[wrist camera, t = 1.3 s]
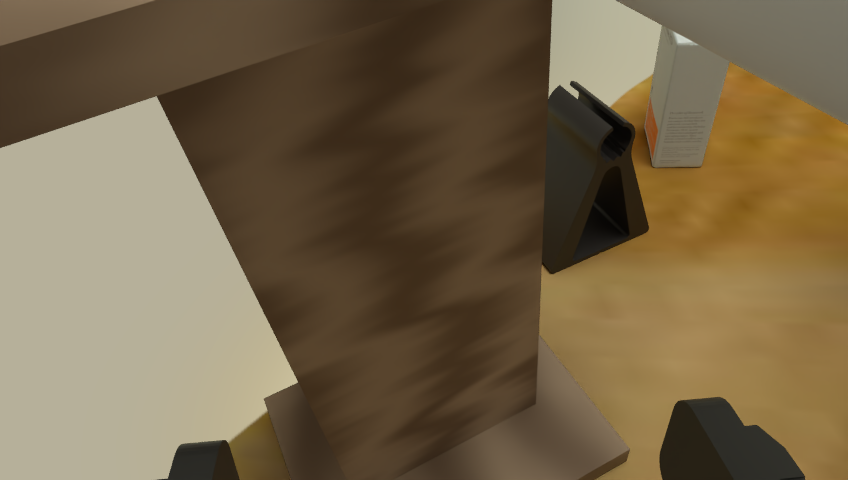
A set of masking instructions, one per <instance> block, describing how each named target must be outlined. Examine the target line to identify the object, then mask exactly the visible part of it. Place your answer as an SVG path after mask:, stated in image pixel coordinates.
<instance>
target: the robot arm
mask: <svg viewBox="0 0 848 480" xmlns="http://www.w3.org/2000/svg"><path fill="white" fill-rule="evenodd" d="M660 470H661V475H662V479H663V480H805V476H804V474H803V473H802V471H801V470H800V469H799V467H798V466H797V464H796V463H795V462H794V460H793V459H792V457H791V456H790V454H789V453H788V452H787V450H786V449H785V448H784V447H783V446H782V445H781V444H779V443H778V442H777V441H776V440H774V439H773V438H772V437H771V436H770V435H768V434H767V433H766V432H765V431H764V430H762V429H761V428H760V427H759V426H757V425H751V426H744V425H743V423H742V422H741V420H740V419H739V417H738V416H737V414H736V413H735V411H734V409H733V408H732V407H731V405H730V404H729V403H728V402H727V401H726V400H725V399H723V398H721V397H713V398H702V399H691V400H681V401H678V402H677V403H676V404H675V406H674V409H673V412H672V415H671V419H670V422H669V425H668V428H667V432H666V435H665V438H664V441H663V444H662V448H661V451H660ZM159 480H240V479H239V476H238V473H237V470H236V466H235V463H234V460H233V457H232V453H231V450H230V447H229V444H228V442H227V441H226V440H222V441H209V442H199V443H187V444H181V445H180V446H179V447H178V449H177V451H176V453H175V456H174V460H173V463H172V466H171V470H170V473H169V477H168V479H159Z"/></svg>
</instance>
